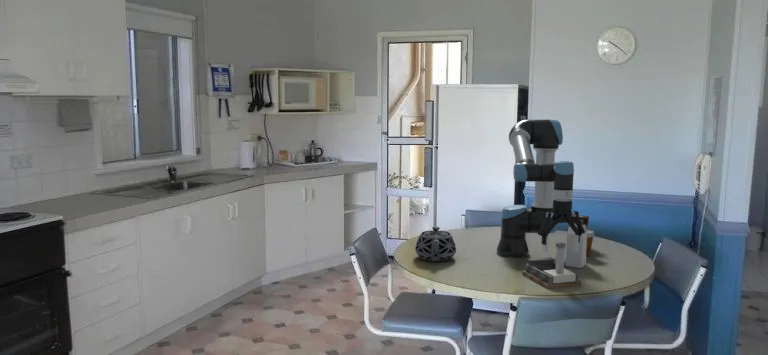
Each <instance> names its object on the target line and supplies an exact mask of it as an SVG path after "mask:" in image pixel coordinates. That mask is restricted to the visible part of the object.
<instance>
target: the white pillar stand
mask: <svg viewBox="0 0 768 355" xmlns="http://www.w3.org/2000/svg"><path fill="white" fill-rule="evenodd" d="M566 246H567V243H565V242H560V241H559V242H558V241H557V242H555V249H556V250H555V251H556V252H555V263H556V268H555V270H543V272H545V273H546V274H548V275H550V276H552V277H553V280H552V283H562V282H573V281H575V278H576V274H574V273H572V272H570V271H568V270H566V269H564V267H565V248H566Z"/></svg>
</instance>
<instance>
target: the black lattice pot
mask: <svg viewBox="0 0 768 355" xmlns="http://www.w3.org/2000/svg"><path fill="white" fill-rule="evenodd" d="M414 248H415V253H416V254H417V256H418V257H419V258H420V259H422V260H423V259H424V260H423V261H427V262H435V261H439V262H446V260H447V261H449V260H451V259H452V257H454V256H455V255H456V252H457V247H456V242H455V240H454V238H453V236H452V234H451V233H450V232H449V231H445V230H440V227H439V226H432V230H424V231H422V232H421V233H420V234H419V235H418V239H417V241H416V243H415V247H414Z"/></svg>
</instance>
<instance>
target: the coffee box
mask: <svg viewBox="0 0 768 355" xmlns="http://www.w3.org/2000/svg"><path fill="white" fill-rule="evenodd" d="M570 218H571V220H572V221H573V223H574V224H576V223H575V220H574V218H573V216H571V217H570ZM579 218H580V221H581V223H582V225H586V230H589V226H590V225H589V223H590V216H589V215H583V214H581V215H580V214H579Z"/></svg>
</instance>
